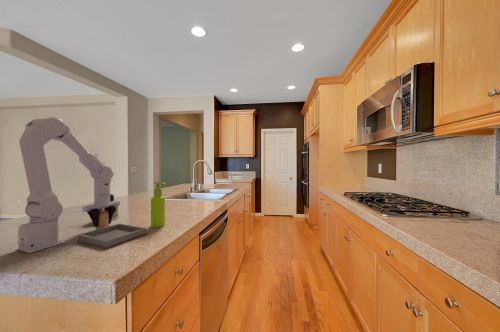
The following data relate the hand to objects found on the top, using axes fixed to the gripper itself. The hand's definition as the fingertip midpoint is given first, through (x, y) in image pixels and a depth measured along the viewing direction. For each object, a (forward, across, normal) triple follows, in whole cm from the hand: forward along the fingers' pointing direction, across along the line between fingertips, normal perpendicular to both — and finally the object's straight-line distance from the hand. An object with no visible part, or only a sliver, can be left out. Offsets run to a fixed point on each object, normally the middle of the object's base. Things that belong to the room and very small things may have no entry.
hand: (102, 225), depth 93 cm
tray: (+2, +5, +15) cm, 16 cm away
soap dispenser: (+2, -14, +18) cm, 23 cm away
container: (+2, -10, -13) cm, 17 cm away
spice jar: (+2, 0, 0) cm, 2 cm away
